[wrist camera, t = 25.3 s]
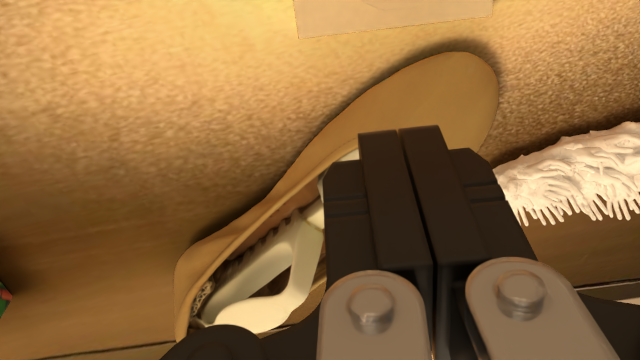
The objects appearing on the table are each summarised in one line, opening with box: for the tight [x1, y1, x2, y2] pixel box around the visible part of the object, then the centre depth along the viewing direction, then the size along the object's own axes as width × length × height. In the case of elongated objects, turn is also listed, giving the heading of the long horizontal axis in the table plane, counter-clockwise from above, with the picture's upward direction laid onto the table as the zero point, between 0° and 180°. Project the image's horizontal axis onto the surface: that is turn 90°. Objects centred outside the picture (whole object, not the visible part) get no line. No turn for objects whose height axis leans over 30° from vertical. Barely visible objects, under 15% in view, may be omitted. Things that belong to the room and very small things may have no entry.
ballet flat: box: [173, 52, 499, 343], centre depth 38 cm, size 11×31×10 cm, turn 136°
